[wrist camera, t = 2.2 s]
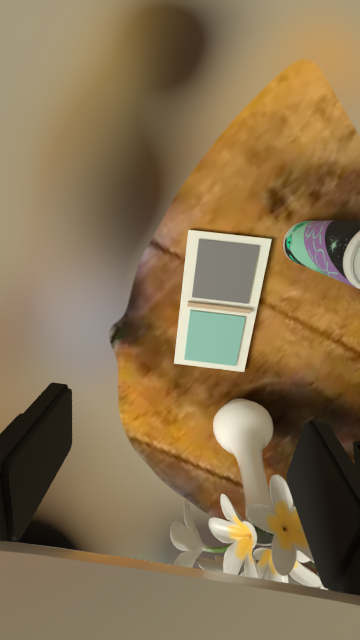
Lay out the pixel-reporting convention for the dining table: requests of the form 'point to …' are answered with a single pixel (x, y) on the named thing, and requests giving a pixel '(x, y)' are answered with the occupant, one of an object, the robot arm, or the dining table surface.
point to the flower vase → (250, 510)
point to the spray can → (327, 248)
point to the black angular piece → (357, 454)
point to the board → (219, 299)
